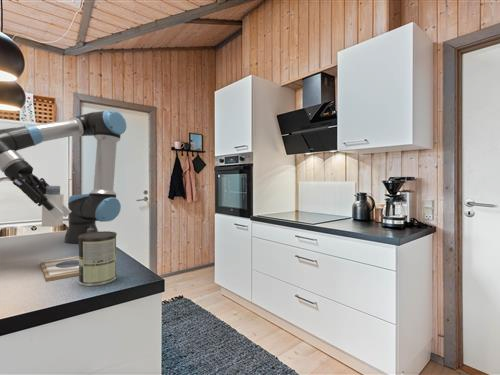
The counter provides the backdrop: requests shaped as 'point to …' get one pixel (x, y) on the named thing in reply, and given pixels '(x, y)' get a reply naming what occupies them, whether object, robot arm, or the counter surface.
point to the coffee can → (97, 258)
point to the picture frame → (60, 268)
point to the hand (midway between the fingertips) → (64, 215)
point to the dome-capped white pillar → (57, 199)
